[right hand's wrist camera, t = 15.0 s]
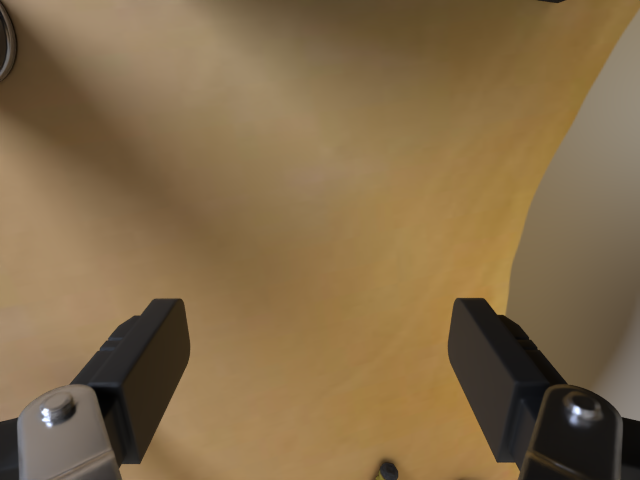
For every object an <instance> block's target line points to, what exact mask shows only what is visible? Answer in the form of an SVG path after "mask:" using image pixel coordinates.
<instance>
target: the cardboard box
mask: <svg viewBox="0 0 640 480" xmlns="http://www.w3.org/2000/svg"><path fill="white" fill-rule="evenodd" d="M540 1H547V2H554V3H559V2H562V1H565V0H540Z"/></svg>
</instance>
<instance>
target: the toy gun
mask: <svg viewBox="0 0 640 480" xmlns="http://www.w3.org/2000/svg"><path fill="white" fill-rule="evenodd" d="M397 478H398V470H397V469H396V467H395V466H394V464H391V463H384V464H382V466H381V467H380V471H379V475H378V476H377V477H376V480H397Z"/></svg>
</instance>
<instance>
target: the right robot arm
mask: <svg viewBox="0 0 640 480" xmlns="http://www.w3.org/2000/svg"><path fill="white" fill-rule="evenodd" d="M15 55H16V39H15V33H14V29H13V26H12V23H11V21H10V18H9V16H8V14H7V12H6V10H5V9H4V7H3V5H2V4H1V3H0V81H1V80H3V79H4V78H5V77H6V76H7V75H8V73H9V72H10V70H11V68H12V66H13V63H14V60H15ZM448 355H449V360H450V363H451V365H452V368H453V370H454V372H455V374H456V376H457V378H458V380H459V382H460V385H461V387H462V389H463V391H464V393H465V395H466V397H467V399H468V402H469V404H470V406H471V408H472V410H473V412H474V414H475V416H476V419H477V421H478V423H479V425H480V427H481V429H482V431H483V433H484V436H485V438H486V440H487V442H488V444H489V446H490V448H491V451H492V453H493V455H494V457H495V459H496V461H497V462H515V463H516V465H517V466H518V468H519V470H520V474H519V478H518V480H640V421H636V420H632V419H628V418H623V417H621V416H620V414H619V412H618V411H617V410H616V409H615V408H614V406H612V405H611V404H610V403H609V402H608V401H607V400H605V399H604V398H602V397H601V396H599V395H597V394H595V393H593V392H592V391H589V390H587V389H584V388H581V387H578V386H573V385H568V384H567V383H566V381H565V380H564V379H563V378H562V377H561V375H560V374H559V373H558V372H557V371H556V369H555V368H554V367H553V366H552V365H551V363H550V362H549V361H548V360H547V358H546V357H545V356H544V355H543V354H542V352H541V351H540V350H538V349H537V346H536V345H535V344H534V343H533V342H532V340H529V337H528V336H527V334H526V333H525V332H524V331H523V330H522V328H521V327H520V326H519V325H518V324H516V323H515V322H513V321H512V320H510V319H509V318H507V317H506V316H504V315H497V314H496V313H495V312H494V310H493V309H492V308H491V306H490V305H489V304H488V302H487V301H486V300H485V299H484V298H457V299H456V300H455V302H454V305H453V312H452V318H451V325H450V332H449V339H448ZM189 356H190V339H189V332H188V326H187V319H186V312H185V306H184V302H183V300H182V299H154V300H152V301H151V303H150V304H149V305H148V307H147V308H146V309H145V310H144V312H143V313H142V314H141V316H133V317H132V318H130V319H129V320H127V321H126V322H124V323H123V324H121V325H119V326H118V327H117V329H116V330H115V331H114V332H113V333H112V335H111V336H110V337H109V338H108V341H106V342H105V343H104V344H103V345H102V346H101V348H100V351H97V352H96V354H95V355H94V356H93V357H92V358H91V360H90V361H89V362H88V363H87V364H86V366H85V367H84V368H83V369H82V370H81V372H80V373H79V374H78V375H77V376H76V377H75V379H74V380H73V381H72V382H71V383H70V385H66V386H62V387H59V388H56V389H53V390H51V391H48V392H47V393H45V394H43V395H41V396H39V397H38V398H36V399H35V400H33V401H32V402H31V403H30V404H29V405H28V406H26V408H25V409H24V410H23V411H22V412H21V414H20V416H19V417H18V418H15V419H11V420H6V421H2V422H0V480H122V478H121V474H120V471H119V468H120V466H121V464H140V463H141V461H142V459H143V457H144V454H145V452H146V450H147V448H148V446H149V444H150V442H151V440H152V438H153V436H154V433H155V431H156V429H157V427H158V425H159V423H160V421H161V419H162V417H163V415H164V412H165V410H166V408H167V406H168V404H169V402H170V400H171V398H172V396H173V394H174V391H175V389H176V387H177V385H178V383H179V381H180V379H181V377H182V375H183V372H184V370H185V368H186V366H187V364H188V361H189Z"/></svg>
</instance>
